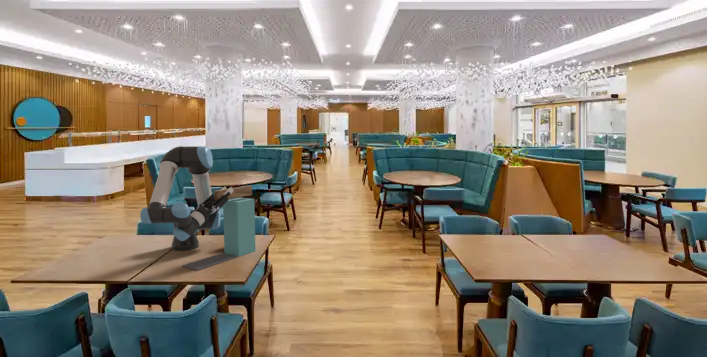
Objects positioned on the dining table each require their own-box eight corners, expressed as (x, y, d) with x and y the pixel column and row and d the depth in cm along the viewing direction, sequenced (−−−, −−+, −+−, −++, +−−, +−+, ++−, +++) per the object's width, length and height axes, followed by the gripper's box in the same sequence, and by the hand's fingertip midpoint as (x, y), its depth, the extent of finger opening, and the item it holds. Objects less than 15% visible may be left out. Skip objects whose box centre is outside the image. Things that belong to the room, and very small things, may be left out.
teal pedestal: (224, 253, 247) (222, 200, 244) (241, 248, 258) (240, 197, 255) (238, 256, 241) (237, 202, 238) (255, 251, 252) (254, 199, 249)
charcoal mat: (181, 266, 223) (181, 265, 223) (221, 254, 245) (221, 253, 245) (197, 270, 217) (197, 269, 217) (236, 257, 239) (236, 256, 239)
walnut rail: (214, 200, 234) (214, 190, 233) (247, 194, 254) (246, 185, 254) (219, 200, 232) (219, 191, 231) (252, 194, 252) (251, 186, 252)
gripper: (191, 220, 230) (221, 192, 246) (214, 223, 221) (243, 195, 237) (185, 208, 226) (215, 182, 242) (208, 212, 217) (237, 184, 233)
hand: (229, 188), depth 240 cm, fingers closed on walnut rail, 4 cm apart
